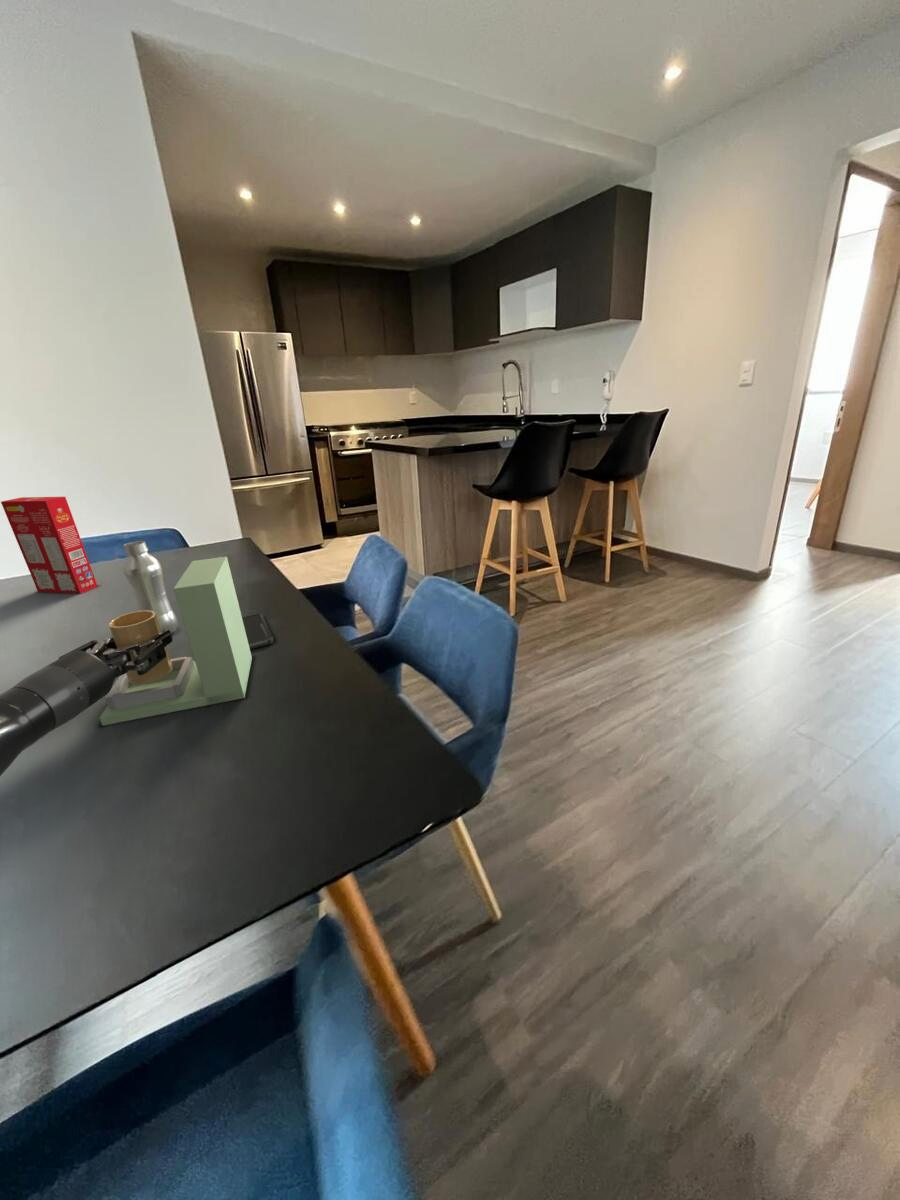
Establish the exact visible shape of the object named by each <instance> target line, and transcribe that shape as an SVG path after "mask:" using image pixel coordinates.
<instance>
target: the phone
mask: <svg viewBox="0 0 900 1200" xmlns="http://www.w3.org/2000/svg"><path fill="white" fill-rule="evenodd" d="M242 620H243V624H244V628H245V632H246V636H247V640H248V644H249V648H250V651H252V650H254V649H258V648H262V647H266V646H269V645H272V644H273V643H274V637H273V635H272V632H271V631H270V628H269V626H268V624H267V621H266V620H265V618H264V616H263V614H262V613H254V614H250V615H246V616H242Z"/></svg>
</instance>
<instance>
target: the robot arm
mask: <svg viewBox="0 0 900 1200" xmlns="http://www.w3.org/2000/svg"><path fill="white" fill-rule="evenodd" d="M172 642H173V636H172V633H171V632H170V630H163V631H162V632H160V633H159V634H157V635H156V636H154V637H152V638H151V639H149V640H148V641H145V642H142V643H140V644H136V643H131V644H128V645H126V646H123V647H120V648H118V649H117V648H116V645H115V642H114V640H113V637H112V636H111V638H104V639H102V640H101V641H100V642H98V640H97V639H92V640H90V641H88V642H86V643H83V644H82V645H80V646H79V647H76V648H75V649H72V650H71V651H69V652H67V653H64V654H62V655H60V656H59V657H58V659H56V660H54V661H53V662H51V663H48V664H47V665H45V666H43V667H42V668H40V669H38V670H36V671H35V672H33V673H31V674H30V675H28V676H26V677H25V678H23V679H21V680H20V681H19V682H17V683H16V684H15V685H13V686H12V687H11V688H9V689H8V690H6V691H4V692H2V693H1V694H0V777H1V776H2V775H3V774H4V773H5V772H6V771H7V770H8V768H10V766H11V765H12V764H13V763H14V762H15V760H16V759H17V758H18V757H19V755H20V754H21V753H23V752H24V751H25V750H26V749H28V748H30V747H31V746H33V745H34V744H35V743H37V742H38V741H39V740H41V739H42V738H44V737H45V736H47V735H49V734H50V733H51V732H53V731H54V730H56V729H58V728H59V727H62V726H64V725H65V724H67V723H68V722H70V721H72V720H73V719H74V718H76V717H77V716H79V715H80V714H82V713H83V712H84V711H85V710H87V709H88V708H90V707H91V706H93V705H94V704H96V703H97V702H99V700H101V699H103V698H104V697H106V696H107V695H108V693H109V692H110V690H111V689H112V687H113V686H114V682H115V679H116V678H119V676H121V675H123V674H125V673H127V672H128V671H130V670H136V671H137V674H138V675H144V674H146V673H147V672H148V671H150V670H151V669H152V668H153V667H154V666H156V665H157V664H158V663H159V662H160V661H162V660H163V659H164V658H165V657H166V656H167V655H166V652H165V649H164V647H165V646H166V647H168V645H170V644H171V643H172ZM145 647H148V648H147V649H146V650H144V651H143V652H141V650H142V649H143V648H145ZM130 650H133V653H134V656H135V658H134V659H133V661H132V659H131V656H130V653H129V652H128V651H130Z"/></svg>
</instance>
